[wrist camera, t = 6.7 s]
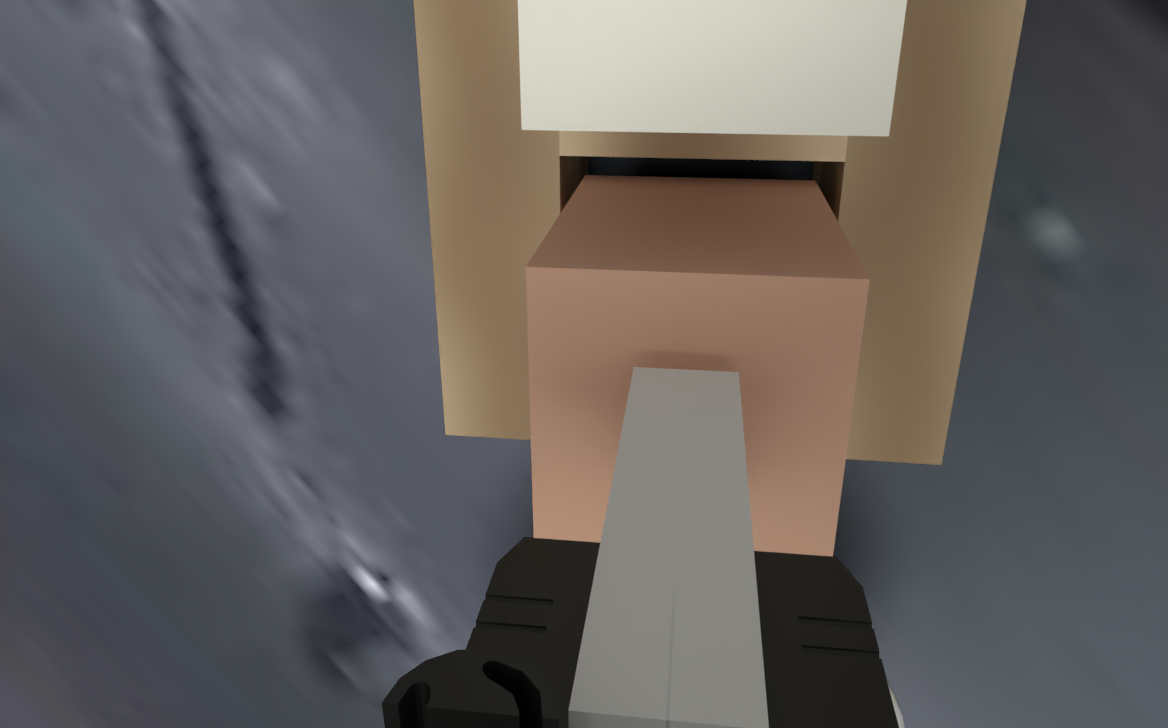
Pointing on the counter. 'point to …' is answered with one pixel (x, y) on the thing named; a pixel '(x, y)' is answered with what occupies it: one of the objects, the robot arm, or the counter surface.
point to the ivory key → (710, 65)
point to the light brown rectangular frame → (841, 163)
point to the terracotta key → (696, 340)
